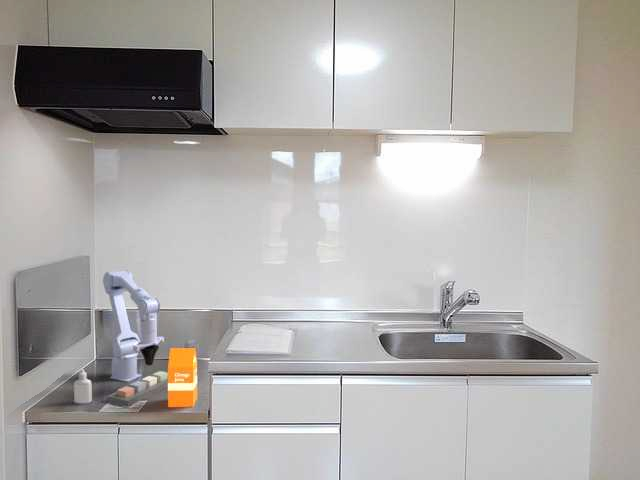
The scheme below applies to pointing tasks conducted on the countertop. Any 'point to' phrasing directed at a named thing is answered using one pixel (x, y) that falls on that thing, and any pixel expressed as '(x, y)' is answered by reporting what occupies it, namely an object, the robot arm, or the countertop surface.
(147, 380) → the cream key
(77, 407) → the countertop surface
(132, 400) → the grey slotted tray
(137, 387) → the slate key
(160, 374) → the sage key
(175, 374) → the orange juice
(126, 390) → the terracotta key
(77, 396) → the eye dropper bottle
